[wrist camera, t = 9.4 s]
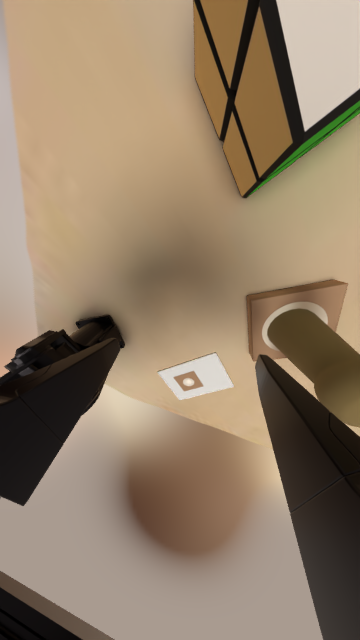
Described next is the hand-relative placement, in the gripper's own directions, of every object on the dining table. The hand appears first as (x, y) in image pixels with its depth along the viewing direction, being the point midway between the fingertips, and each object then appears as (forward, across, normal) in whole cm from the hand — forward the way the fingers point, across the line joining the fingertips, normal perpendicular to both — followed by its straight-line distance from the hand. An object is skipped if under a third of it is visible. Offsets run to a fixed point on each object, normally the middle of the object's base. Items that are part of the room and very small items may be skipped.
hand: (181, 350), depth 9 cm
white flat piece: (+12, 0, +18) cm, 22 cm away
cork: (+12, -12, +5) cm, 18 cm away
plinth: (+14, -12, +5) cm, 19 cm away
